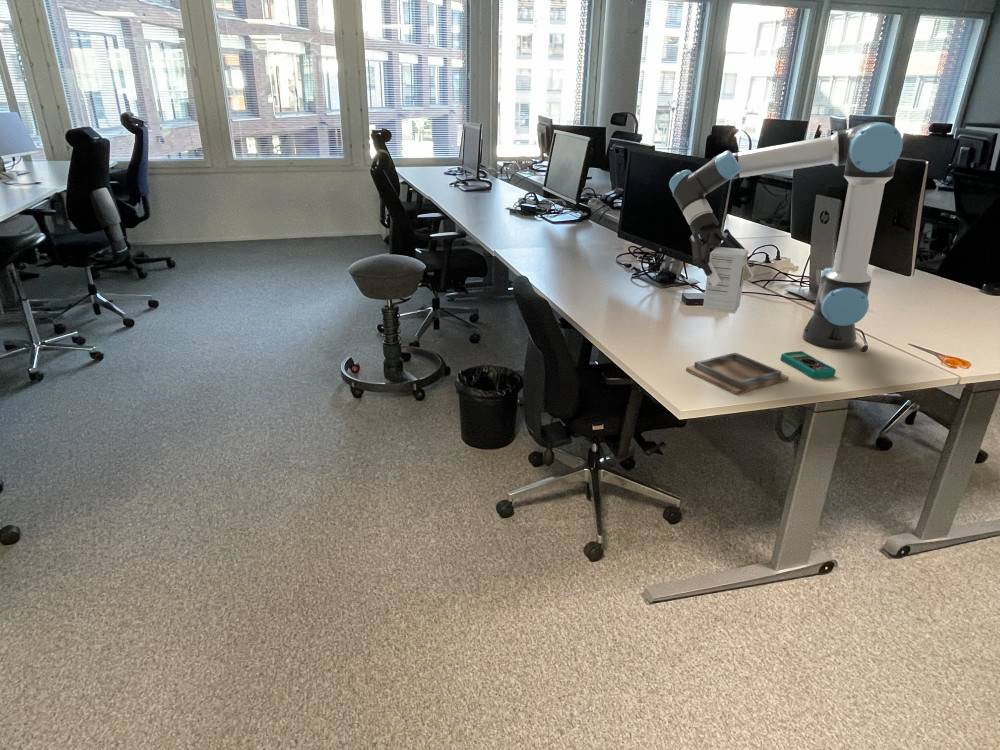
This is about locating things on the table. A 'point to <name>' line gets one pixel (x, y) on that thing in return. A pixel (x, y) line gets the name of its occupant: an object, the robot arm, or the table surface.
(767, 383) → the carrier plate
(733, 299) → the supplement box
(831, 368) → the digital multimeter
